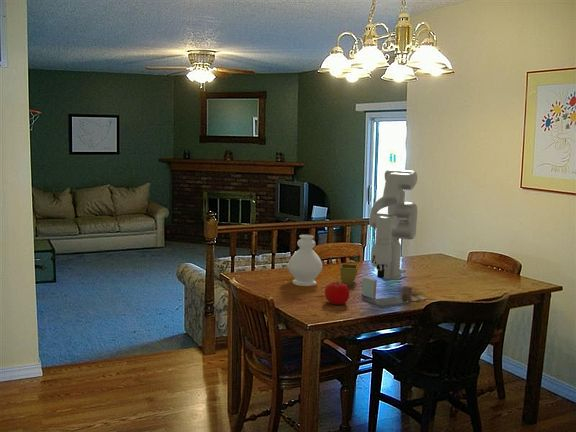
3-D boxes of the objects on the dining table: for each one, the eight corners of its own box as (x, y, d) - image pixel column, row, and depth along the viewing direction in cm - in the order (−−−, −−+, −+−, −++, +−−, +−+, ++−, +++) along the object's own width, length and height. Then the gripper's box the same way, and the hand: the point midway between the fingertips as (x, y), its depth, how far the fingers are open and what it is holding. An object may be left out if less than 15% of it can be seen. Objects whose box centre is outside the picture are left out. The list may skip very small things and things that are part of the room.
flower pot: (355, 285, 325) (356, 268, 324) (338, 283, 327) (339, 267, 325) (357, 281, 334) (358, 265, 332) (340, 279, 335) (341, 263, 334)
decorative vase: (328, 283, 326) (330, 236, 322) (305, 289, 313) (308, 240, 309) (302, 276, 338) (305, 231, 334) (280, 282, 325) (282, 234, 321)
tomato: (354, 305, 290) (355, 283, 288) (335, 308, 283) (336, 286, 282) (337, 298, 299) (339, 277, 298) (319, 301, 293) (320, 280, 291)
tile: (364, 294, 310) (366, 276, 308) (375, 298, 303) (376, 280, 302) (361, 294, 308) (362, 276, 307) (372, 298, 302) (373, 280, 301)
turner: (407, 302, 298) (408, 288, 297) (400, 299, 302) (401, 285, 301) (425, 299, 304) (426, 285, 303) (418, 297, 308) (419, 283, 307)
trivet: (393, 298, 304) (393, 296, 304) (407, 303, 296) (407, 301, 296) (368, 302, 295) (368, 300, 295) (382, 308, 287) (382, 305, 287)
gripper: (389, 239, 313) (386, 275, 315) (366, 240, 304) (363, 277, 307) (399, 241, 306) (396, 278, 309) (376, 243, 298) (373, 280, 301)
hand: (380, 277), depth 308 cm, fingers closed
